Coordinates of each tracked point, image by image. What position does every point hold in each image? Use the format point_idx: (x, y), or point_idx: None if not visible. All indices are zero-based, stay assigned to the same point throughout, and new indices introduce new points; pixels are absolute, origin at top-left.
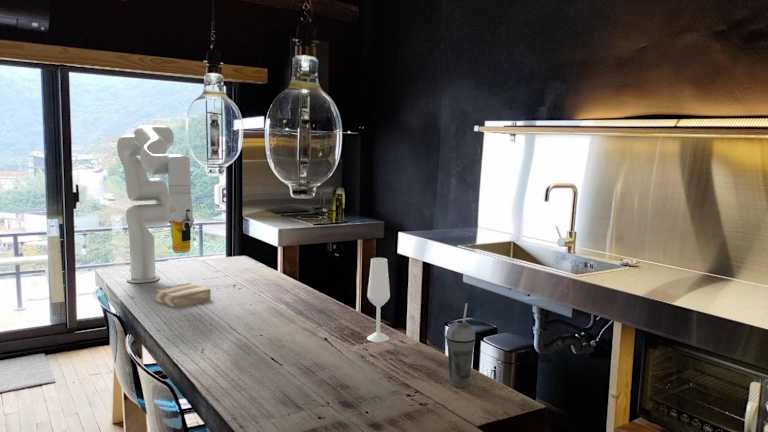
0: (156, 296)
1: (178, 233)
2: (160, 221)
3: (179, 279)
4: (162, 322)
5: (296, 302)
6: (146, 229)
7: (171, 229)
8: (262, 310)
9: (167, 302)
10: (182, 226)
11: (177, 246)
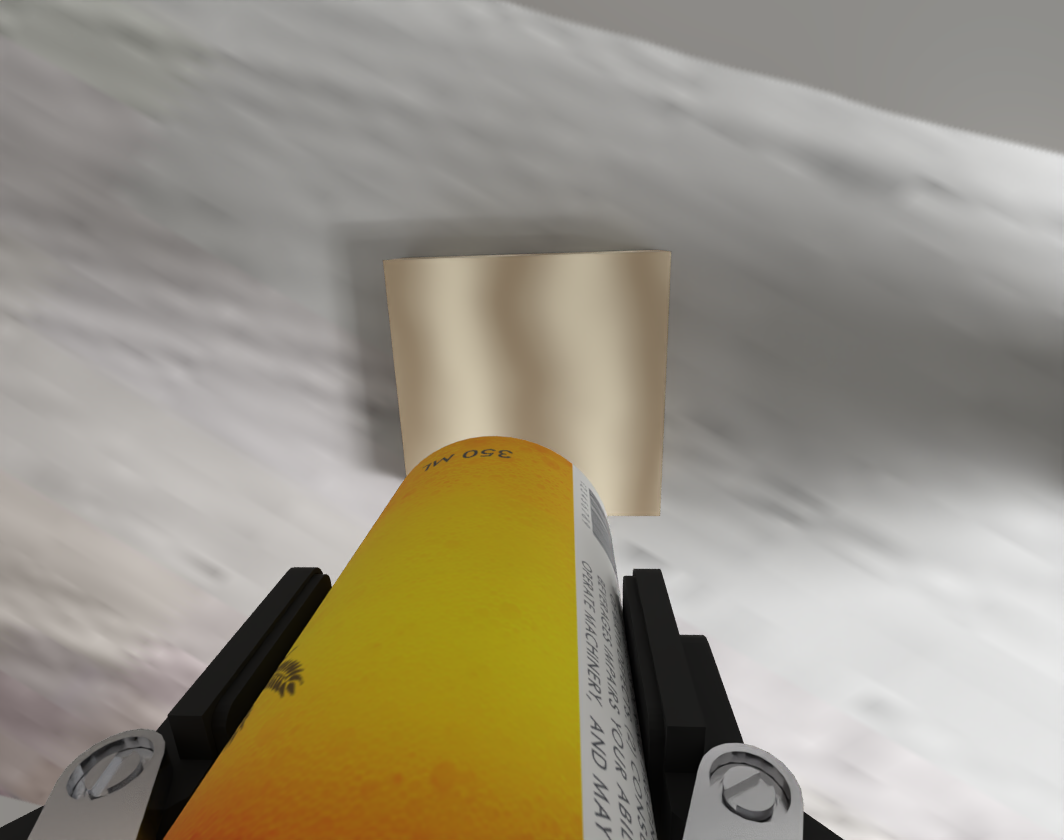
0: (640, 251)
1: (309, 621)
2: None
3: (1006, 619)
4: (154, 28)
5: (119, 714)
6: None
7: (690, 700)
8: (78, 544)
9: (498, 255)
10: (117, 821)
11: (411, 480)
